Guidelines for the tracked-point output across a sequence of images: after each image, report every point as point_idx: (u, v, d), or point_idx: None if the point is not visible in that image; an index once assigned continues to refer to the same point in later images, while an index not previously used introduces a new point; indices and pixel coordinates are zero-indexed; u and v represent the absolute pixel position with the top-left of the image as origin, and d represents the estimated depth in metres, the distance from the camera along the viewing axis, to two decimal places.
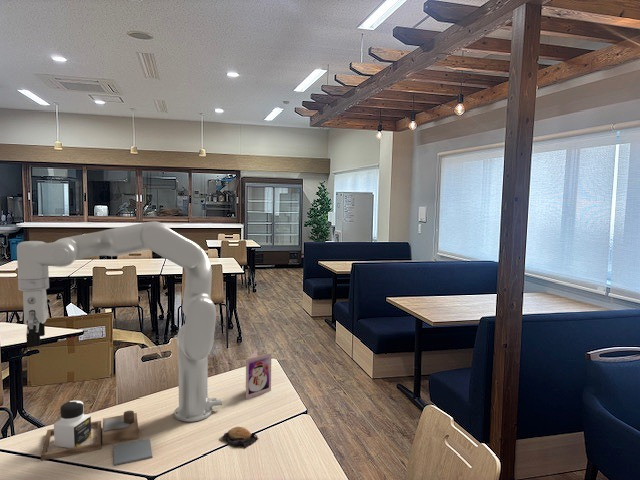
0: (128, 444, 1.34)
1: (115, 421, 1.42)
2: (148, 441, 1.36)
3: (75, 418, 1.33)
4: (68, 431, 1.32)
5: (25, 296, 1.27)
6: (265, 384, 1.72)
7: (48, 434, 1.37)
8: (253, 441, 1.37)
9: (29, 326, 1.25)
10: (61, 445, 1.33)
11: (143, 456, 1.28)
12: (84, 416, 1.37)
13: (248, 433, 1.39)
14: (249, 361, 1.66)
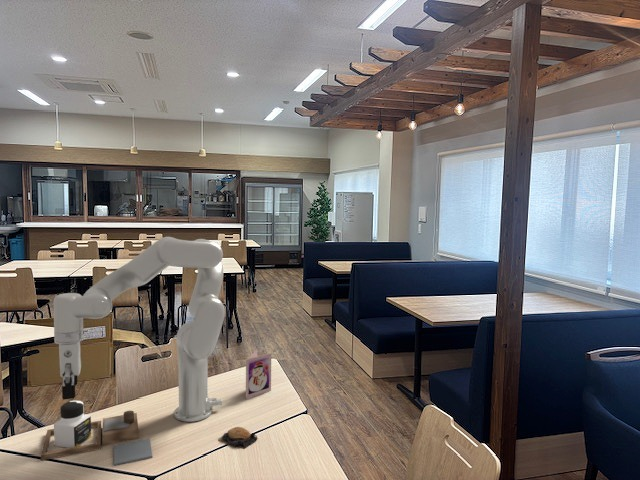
0: (128, 444, 1.34)
1: (115, 421, 1.42)
2: (148, 441, 1.36)
3: (75, 418, 1.33)
4: (68, 431, 1.32)
5: (61, 349, 1.28)
6: (265, 384, 1.72)
7: (48, 434, 1.37)
8: (253, 441, 1.37)
9: (66, 380, 1.26)
10: (61, 445, 1.33)
11: (143, 456, 1.28)
12: (84, 416, 1.37)
13: (248, 433, 1.39)
14: (249, 361, 1.66)
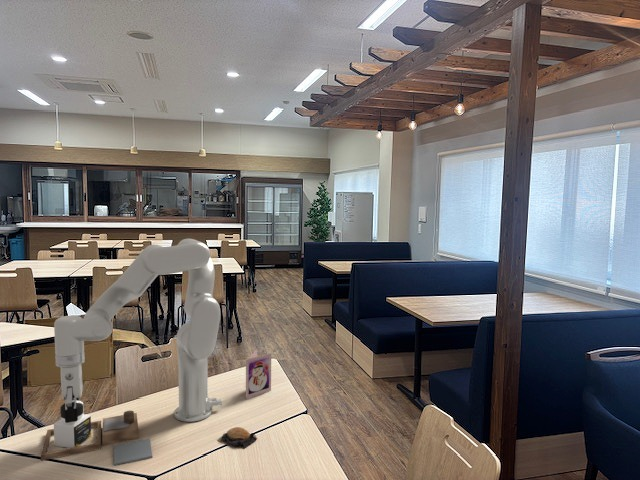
0: (128, 444, 1.34)
1: (115, 421, 1.42)
2: (148, 441, 1.36)
3: None
4: (68, 431, 1.32)
5: (63, 373, 1.29)
6: (265, 384, 1.72)
7: (48, 434, 1.37)
8: (252, 441, 1.37)
9: (68, 405, 1.28)
10: (61, 445, 1.33)
11: (143, 456, 1.28)
12: (84, 416, 1.37)
13: (247, 433, 1.39)
14: (249, 361, 1.66)
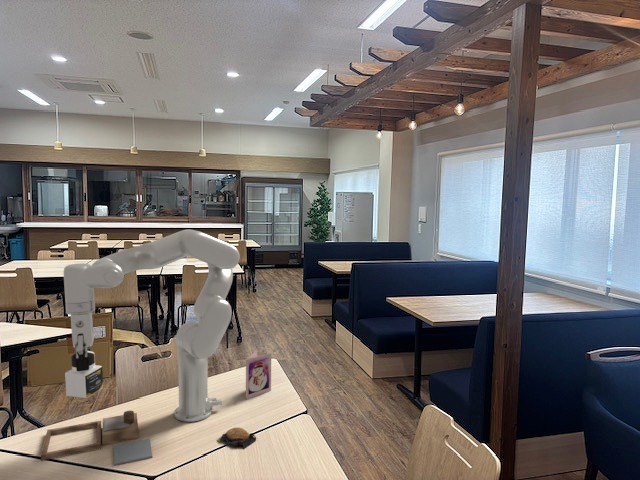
0: (128, 444, 1.34)
1: (115, 421, 1.42)
2: (148, 441, 1.36)
3: None
4: (79, 380, 1.29)
5: (73, 320, 1.26)
6: (265, 384, 1.72)
7: (48, 434, 1.37)
8: (252, 441, 1.37)
9: (79, 353, 1.26)
10: (73, 394, 1.30)
11: (143, 456, 1.28)
12: (95, 366, 1.34)
13: (246, 433, 1.39)
14: (249, 361, 1.66)
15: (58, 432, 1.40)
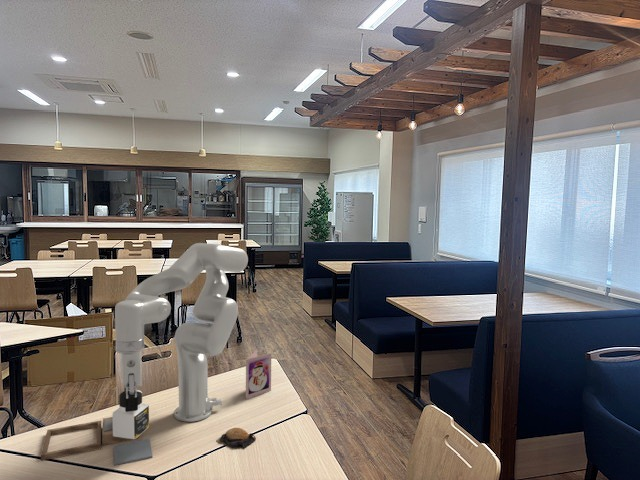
0: (128, 444, 1.34)
1: None
2: (148, 441, 1.36)
3: None
4: (128, 421, 1.26)
5: (124, 359, 1.23)
6: (265, 384, 1.72)
7: (48, 434, 1.37)
8: (251, 441, 1.37)
9: (130, 393, 1.23)
10: (120, 435, 1.27)
11: (143, 456, 1.28)
12: (142, 405, 1.31)
13: (246, 434, 1.38)
14: (249, 361, 1.66)
15: (58, 432, 1.40)
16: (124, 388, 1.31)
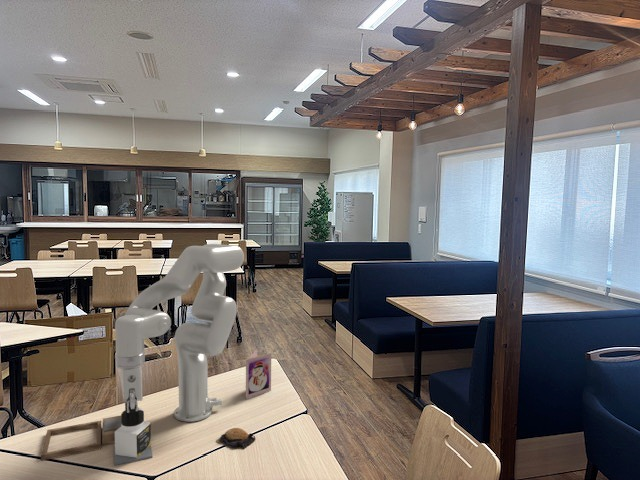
0: None
1: (115, 421, 1.42)
2: None
3: (137, 426, 1.28)
4: (130, 440, 1.27)
5: (125, 374, 1.24)
6: (265, 384, 1.72)
7: (48, 434, 1.37)
8: (251, 441, 1.37)
9: (131, 406, 1.22)
10: (122, 454, 1.28)
11: (143, 456, 1.28)
12: (144, 423, 1.32)
13: (246, 434, 1.38)
14: (249, 361, 1.66)
15: (58, 432, 1.40)
16: None
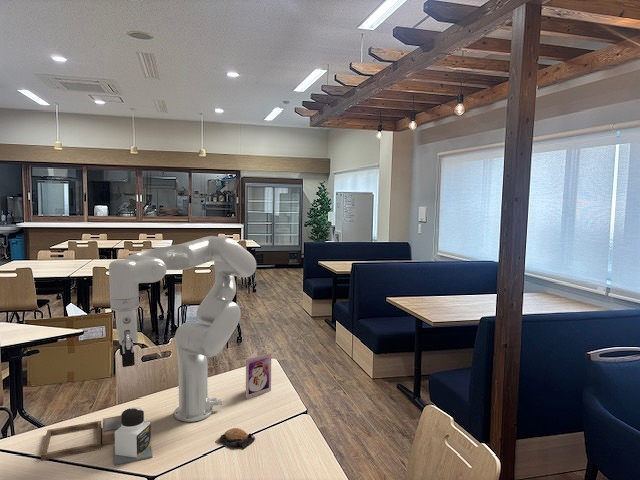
0: None
1: (115, 421, 1.42)
2: None
3: (137, 426, 1.28)
4: (130, 440, 1.27)
5: (120, 316, 1.25)
6: (265, 384, 1.72)
7: (48, 434, 1.37)
8: (251, 442, 1.37)
9: (127, 346, 1.24)
10: (122, 454, 1.28)
11: (143, 456, 1.28)
12: (144, 423, 1.32)
13: (245, 434, 1.38)
14: (249, 361, 1.66)
15: (58, 432, 1.40)
16: (119, 342, 1.35)
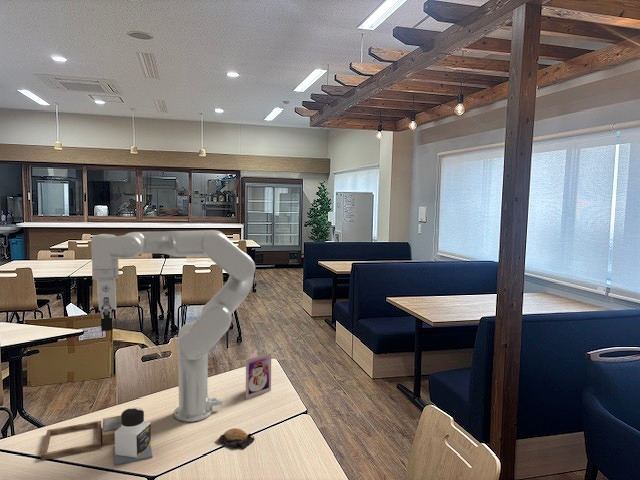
0: None
1: (115, 421, 1.42)
2: None
3: (137, 426, 1.28)
4: (130, 440, 1.27)
5: (100, 284, 1.38)
6: (265, 384, 1.72)
7: (48, 434, 1.37)
8: (250, 442, 1.37)
9: (105, 312, 1.36)
10: (122, 454, 1.28)
11: (143, 456, 1.28)
12: (144, 423, 1.32)
13: (245, 434, 1.38)
14: (249, 361, 1.66)
15: (58, 432, 1.40)
16: None
